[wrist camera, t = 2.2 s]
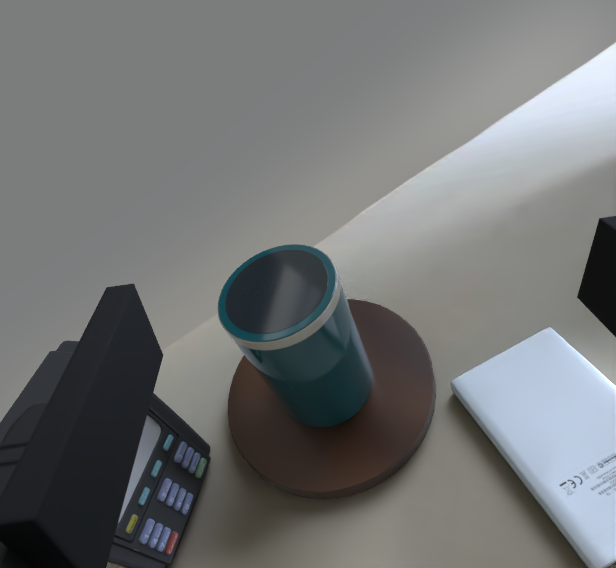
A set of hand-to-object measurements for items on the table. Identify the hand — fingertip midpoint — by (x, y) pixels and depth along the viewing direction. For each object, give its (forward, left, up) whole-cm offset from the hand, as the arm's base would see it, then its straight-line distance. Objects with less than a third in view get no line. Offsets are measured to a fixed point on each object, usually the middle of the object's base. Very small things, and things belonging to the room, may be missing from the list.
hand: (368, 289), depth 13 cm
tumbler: (-2, -11, -19) cm, 22 cm away
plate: (-2, -11, -21) cm, 24 cm away
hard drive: (-8, +4, -21) cm, 23 cm away
